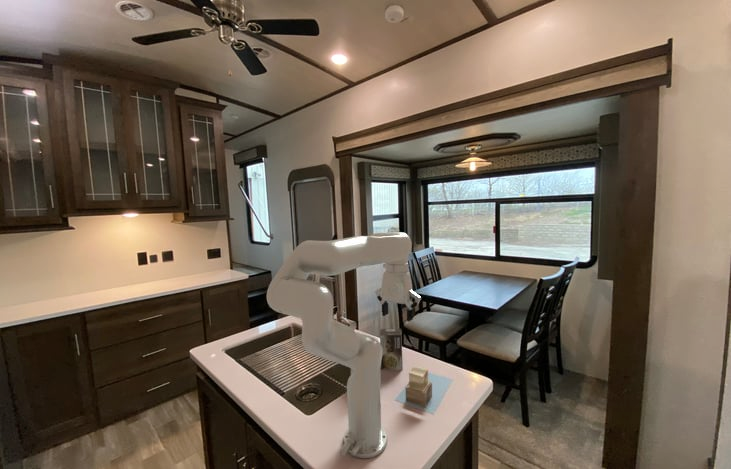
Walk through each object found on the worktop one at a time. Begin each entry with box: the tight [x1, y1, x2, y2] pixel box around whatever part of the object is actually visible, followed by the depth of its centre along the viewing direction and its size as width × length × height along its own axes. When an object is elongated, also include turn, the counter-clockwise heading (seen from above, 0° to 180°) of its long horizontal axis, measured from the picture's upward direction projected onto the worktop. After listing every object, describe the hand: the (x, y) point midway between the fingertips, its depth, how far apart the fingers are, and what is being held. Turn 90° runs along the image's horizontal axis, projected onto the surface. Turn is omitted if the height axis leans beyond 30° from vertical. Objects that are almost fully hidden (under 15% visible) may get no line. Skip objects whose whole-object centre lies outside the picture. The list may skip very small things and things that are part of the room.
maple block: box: [408, 365, 429, 391], centre depth 99 cm, size 5×5×5 cm
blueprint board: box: [394, 371, 453, 415], centre depth 104 cm, size 22×14×6 cm, turn 147°
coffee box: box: [379, 328, 404, 372], centre depth 120 cm, size 9×6×16 cm
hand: (397, 317), depth 98 cm, fingers open, 9 cm apart
